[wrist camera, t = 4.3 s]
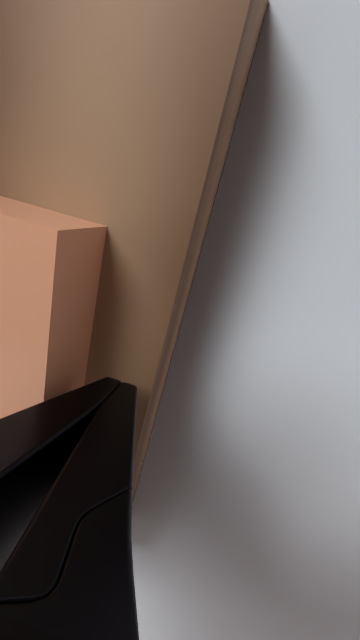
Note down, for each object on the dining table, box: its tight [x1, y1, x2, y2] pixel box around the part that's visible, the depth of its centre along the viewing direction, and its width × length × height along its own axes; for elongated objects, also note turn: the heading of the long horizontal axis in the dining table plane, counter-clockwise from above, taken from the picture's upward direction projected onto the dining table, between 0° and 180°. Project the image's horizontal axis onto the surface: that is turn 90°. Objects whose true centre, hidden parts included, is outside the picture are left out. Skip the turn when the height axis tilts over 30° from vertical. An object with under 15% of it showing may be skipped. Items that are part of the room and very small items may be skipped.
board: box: [0, 0, 268, 502], centre depth 10 cm, size 11×20×3 cm, turn 166°
